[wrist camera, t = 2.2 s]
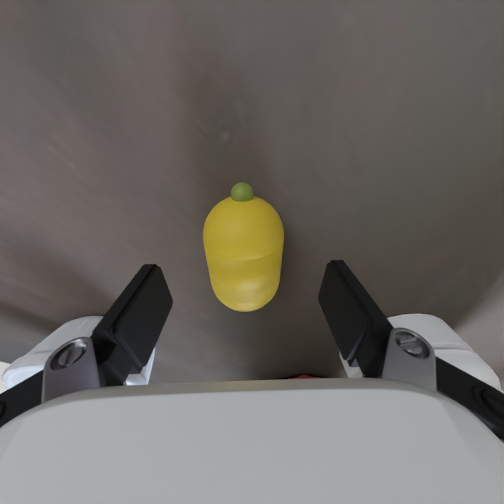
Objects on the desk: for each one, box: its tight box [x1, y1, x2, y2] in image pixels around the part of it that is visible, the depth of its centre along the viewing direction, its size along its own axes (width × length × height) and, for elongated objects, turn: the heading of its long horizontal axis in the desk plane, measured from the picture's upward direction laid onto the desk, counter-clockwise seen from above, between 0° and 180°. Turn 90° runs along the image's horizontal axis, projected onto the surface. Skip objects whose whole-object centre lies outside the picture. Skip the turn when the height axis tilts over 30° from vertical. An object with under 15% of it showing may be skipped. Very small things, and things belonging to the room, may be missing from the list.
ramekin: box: [2, 316, 155, 389], centre depth 19 cm, size 11×11×5 cm
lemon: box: [203, 182, 284, 311], centre depth 12 cm, size 10×5×5 cm, turn 0°
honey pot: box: [339, 314, 504, 394], centre depth 16 cm, size 13×13×18 cm
